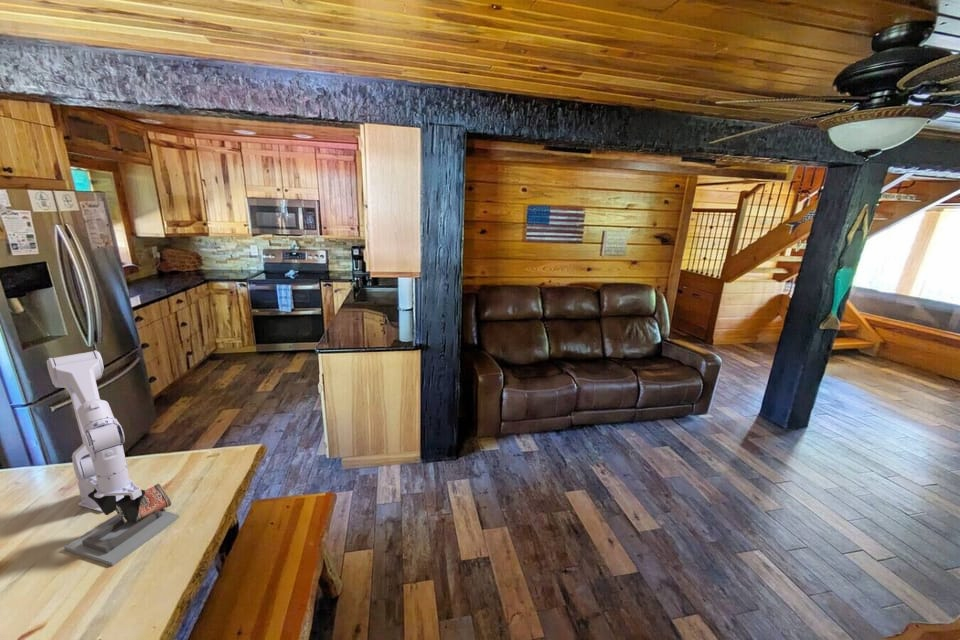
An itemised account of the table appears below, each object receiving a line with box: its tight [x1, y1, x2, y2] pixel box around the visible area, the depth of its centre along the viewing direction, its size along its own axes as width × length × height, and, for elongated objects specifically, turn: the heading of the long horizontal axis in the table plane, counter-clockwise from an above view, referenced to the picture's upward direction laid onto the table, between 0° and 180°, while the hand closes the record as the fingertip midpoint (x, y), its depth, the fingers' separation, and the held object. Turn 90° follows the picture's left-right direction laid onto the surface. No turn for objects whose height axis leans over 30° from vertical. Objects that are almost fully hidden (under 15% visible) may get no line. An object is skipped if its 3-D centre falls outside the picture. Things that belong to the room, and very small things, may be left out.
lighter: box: [115, 483, 172, 523], centre depth 104 cm, size 8×3×10 cm
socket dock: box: [63, 509, 180, 567], centre depth 99 cm, size 16×16×2 cm
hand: (121, 515), depth 98 cm, fingers open, 7 cm apart
